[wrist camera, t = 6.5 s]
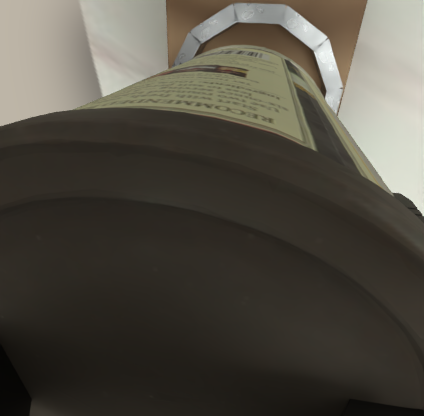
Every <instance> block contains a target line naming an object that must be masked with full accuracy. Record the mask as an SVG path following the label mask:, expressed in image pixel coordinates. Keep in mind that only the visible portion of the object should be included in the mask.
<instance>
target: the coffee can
mask: <svg viewBox="0 0 424 416" xmlns="http://www.w3.org/2000/svg"><path fill="white" fill-rule="evenodd" d="M0 343H1V345H2V347H3V349H4V350H5V352H6V354H7V356H8V357H9V359H10V361H11V363H12V365H13V366H14V368H15V370H16V372H17V373H18V375H19V377H20V379H21V381H22V382H23V384H24V386H25V388H26V390H27V391H28V393H29V395H30V397H31V398H32V401H31V408H30V416H340V415H341V414H342V412H343V410H344V408H345V406H346V405H347V403H348V401H349V399H355V400H362V401H368V402H374V403H380V404H386V405H392V406H399V407H405V408H414V409H422V410H424V223H423V222H422V221H421V220H420V219H419V218H418V217H417V216H416V215H415V214H414V213H413V212H412V211H410V210H409V209H408V208H407V207H406V206H405V205H403V204H402V203H401V202H400V201H399V200H398V199H396V198H395V197H394V195H393V194H392V192H391V191H390V190H389V188H388V187H387V186H386V184H385V183H384V182H383V180H382V179H381V177H380V176H379V174H378V173H377V171H376V170H375V168H374V167H373V166H372V164H371V163H370V161H369V160H368V159H367V157H366V156H365V155H364V153H363V152H362V151H361V149H360V148H359V147H358V145H357V144H356V142H355V141H354V139H353V138H352V137H351V135H350V134H349V132H348V131H347V129H346V128H345V127H344V125H343V124H342V123H341V121H340V120H339V118H338V117H337V115H336V114H335V112H334V111H333V110H332V109H331V108H330V106H329V105H328V104H327V102H326V101H325V99H324V96H323V95H322V93H321V91H320V90H319V88H318V87H317V85H316V83H315V81H314V80H313V79H312V78H311V77H310V76H309V74H308V73H307V72H306V71H305V70H304V69H303V68H302V67H301V66H299V65H298V64H297V63H295V62H294V61H293V60H291V59H290V58H288V57H286V56H284V55H282V54H280V53H278V52H276V51H274V50H270V49H268V48H265V47H259V46H253V45H230V46H224V47H219V48H216V49H212V50H210V51H207V52H204V53H202V54H200V55H198V56H196V57H194V58H193V59H191V60H189V61H187V62H185V63H183V64H180V65H178V66H175V67H173V68H171V69H168V70H166V71H163V72H161V73H159V74H156V75H154V76H151V77H149V78H147V79H144V80H142V81H140V82H137V83H135V84H133V85H130V86H128V87H126V88H124V89H121V90H119V91H117V92H115V93H112V94H110V95H107V96H105V97H102V98H100V99H98V100H95V101H93V102H90V103H88V104H86V105H83V106H81V107H78V108H76V109H73V110H69V111H62V112H54V113H49V114H46V115H40V116H36V117H32V118H28V119H25V120H21V121H18V122H14V123H11V124H7V125H4V126H0Z"/></svg>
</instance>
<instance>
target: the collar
mask: <svg viewBox="0 0 424 416" xmlns="http://www.w3.org/2000/svg"><path fill="white" fill-rule="evenodd" d="M285 6H286V4H258V3H234V4H233V3H232V4H231V5H229V6H228V7H226V8H224V9H223V10H221V11H220V12H218V13H217V14H215V15H214V16H212V17H210V18H209V19H207V20H206V21H204V22H203V23H201V24H200V25H198V26H196V27H195V28H193V29H192V30H190V32H189V33H188V35H187V37H186V39H185V41H184V43H183V45H182V47H181V49H180V51H179V53H178V55H177V57H176V59H175V61H174V63H173V65H172V67H171V68H173V67H175V66H178V65H180V64H183V63H185V62H187V61H189V60H191V59H193V58H194V57H196V56H198V55H200V54H201V53H202V51H203V50H204V48H205V46H206V44H207V43H208V42H209V41H211V40H212V39H214V38H216V37H217V36H219V35H221V34H222V33H224V32H226V31H227V30H229V29H231V28H232V27H234V26H235V25H237V24H239V23H262V24H279V25H281V26H282V27H283V28H285V29H286V30H287V31H288V32H290V33H291V34H292V35H293V36H295V37H296V38H297V39H299V40H300V41H301V42H302V43H304V44H305V45H306V46H308V47H309V48H310V51H311V54H312V57H313V60H314V63H315V66H316V69H317V72H318V75H319V78H320V81H321V90H320V91H321V93H322V95H323V96H324V99H325V101H326V102H327V104H328V105H329V106H330V108H331V109H332V110H333V111H334V112H335V114H336V115H337V111H338V107H339V103H340V99H341V95H342V91H343V88H342V87H343V85H342V81H341V78H340V75H339V71H338V68H337V65H336V61H335V58H334V55H333V51H332V48H331V44H330V41H329V39H327V36H326V35H324V34H323V33H322V32H321V31H319V30H318V29H317V28H316V27H314V26H313V25H312V24H311V23H309V22H308V21H307V20H306V19H304V18H303V17H302V16H301V15H299V14H298V13H297V12H296V11H294V10H293V9H292V8H291V7H289V6H287V7H286V9H285Z"/></svg>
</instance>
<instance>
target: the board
mask: <svg viewBox="0 0 424 416" xmlns="http://www.w3.org/2000/svg"><path fill="white" fill-rule="evenodd" d="M232 3H233V4H234V3H258V4H286V6H285V9H286V7H287V6H289V7H291V8H292V9H293V10H294V11H296V12H297V13H298V14H299V15H301V16H302V17H303V18H304V19H306V20H307V21H308V22H309V23H311V24H312V25H313V26H314V27H316V28H317V29H318V30H319V31H321V32H322V33H323V34H324V35H326V36H327V39H329V41H330V44H331V48H332V51H333V55H334V58H335V61H336V65H337V68H338V71H339V75H340V78H341V81H342V85H343V87H342V88H343V91H342V95H341V99H340V103H339V107H338V111H337V116H338V112H339V108H340V104H341V100H342V97H343V93H344V89H345V85H346V81H347V77H348V73H349V69H350V66H351V62H352V58H353V54H354V50H355V46H356V42H357V38H358V35H359V31H360V27H361V23H362V19H363V15H364V11H365V8H366V4H367V0H166V11H167V38H168V65H169V69H171V67H172V65H173V63H174V61H175V59H176V57H177V55H178V53H179V51H180V49H181V47H182V45H183V43H184V41H185V39H186V37H187V35H188V33H189V32H190V30H192V29H193V28H195V27H196V26H198V25H200V24H201V23H203V22H204V21H206V20H207V19H209V18H210V17H212V16H214V15H215V14H217V13H218V12H220V11H221V10H223V9H224V8H226V7H228V6H229V5H231V4H232ZM230 45H253V46H259V47H265V48H268V49H270V50H274V51H276V52H278V53H280V54H282V55H284V56H286V57H288V58H290V59H291V60H293V61H294V62H295V63H297V64H298V65H299V66H301V67H302V68H303V69H304V70H305V71H306V72H307V73H308V74H309V76H310V77H311V78H312V79H313V80H314V81H315V83H316V85H317V87H318V88H319V90H321V81H320V78H319V75H318V72H317V69H316V66H315V63H314V60H313V57H312V54H311V51H310V48H309V47H308V46H306V45H305V44H304V43H302V42H301V41H300V40H299V39H297V38H296V37H295V36H293V35H292V34H291V33H290V32H288V31H287V30H286V29H285V28H283V27H282V26H281V25H279V24H262V23H239V24H237V25H235V26H234V27H232V28H231V29H229V30H227V31H226V32H224V33H222V34H221V35H219V36H217V37H216V38H214V39H212V40H211V41H209V42H208V43H207V44H206V46H205V48H204V50H203V51H202V53H204V52H207V51H210V50H212V49H216V48H219V47H224V46H230ZM202 53H201V54H202Z"/></svg>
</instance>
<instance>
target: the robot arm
mask: <svg viewBox="0 0 424 416" xmlns="http://www.w3.org/2000/svg"><path fill="white" fill-rule="evenodd" d="M392 194H393V195H394V197H395V198H396V199H398V200H399V201H400V202H401V203H402V204H403V205H405V206H406V207H407V208H408V209H409V210H410V211H412V212H413V213H414V214H415V215H416V216H417V217H418V218H419V219H420V220H421V221H422V222H423V223H424V216H422V214H421V212H420V211H419V210H417V207H416V206H415V205H414V204H413V202H412V201H411V200H409V199H408V198H406V197H405V196H403V195H402V194H399V193H392ZM31 401H32V398H31V397H30V395H29V393H28V391H27V390H26V388H25V386H24V384H23V382H22V381H21V379H20V377H19V375H18V373H17V372H16V370H15V368H14V366H13V365H12V363H11V361H10V359H9V357H8V356H7V354H6V352H5V350H4V349H3V347H2V345H1V343H0V416H30V408H31ZM340 416H424V410H422V409H414V408H405V407H399V406H392V405H386V404H380V403H374V402H368V401H362V400H355V399H349V401H348V403H347V405H346V406H345V408H344V410H343V412H342V414H341V415H340Z"/></svg>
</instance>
